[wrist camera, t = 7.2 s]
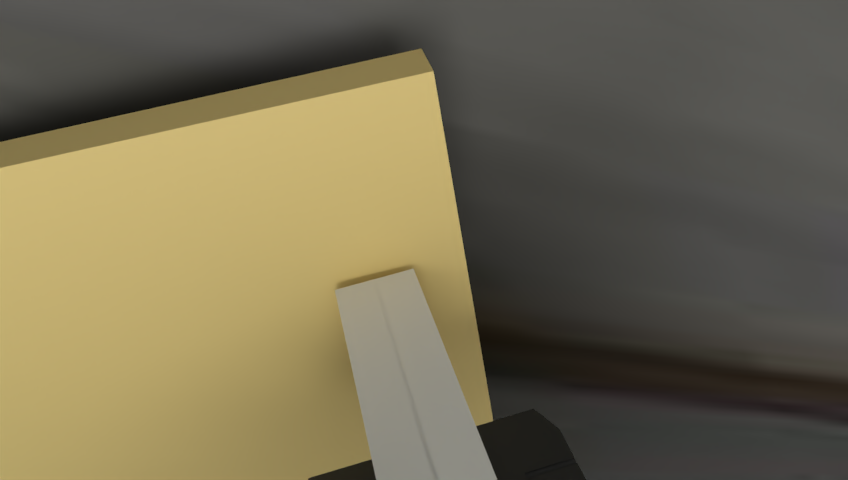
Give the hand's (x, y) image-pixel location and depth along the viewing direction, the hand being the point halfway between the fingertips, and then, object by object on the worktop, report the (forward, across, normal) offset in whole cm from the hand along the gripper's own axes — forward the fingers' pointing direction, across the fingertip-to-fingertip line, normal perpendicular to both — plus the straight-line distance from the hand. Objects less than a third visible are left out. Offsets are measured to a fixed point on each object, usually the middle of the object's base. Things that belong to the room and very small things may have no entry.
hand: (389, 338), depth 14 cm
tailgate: (+2, -4, 0) cm, 4 cm away
